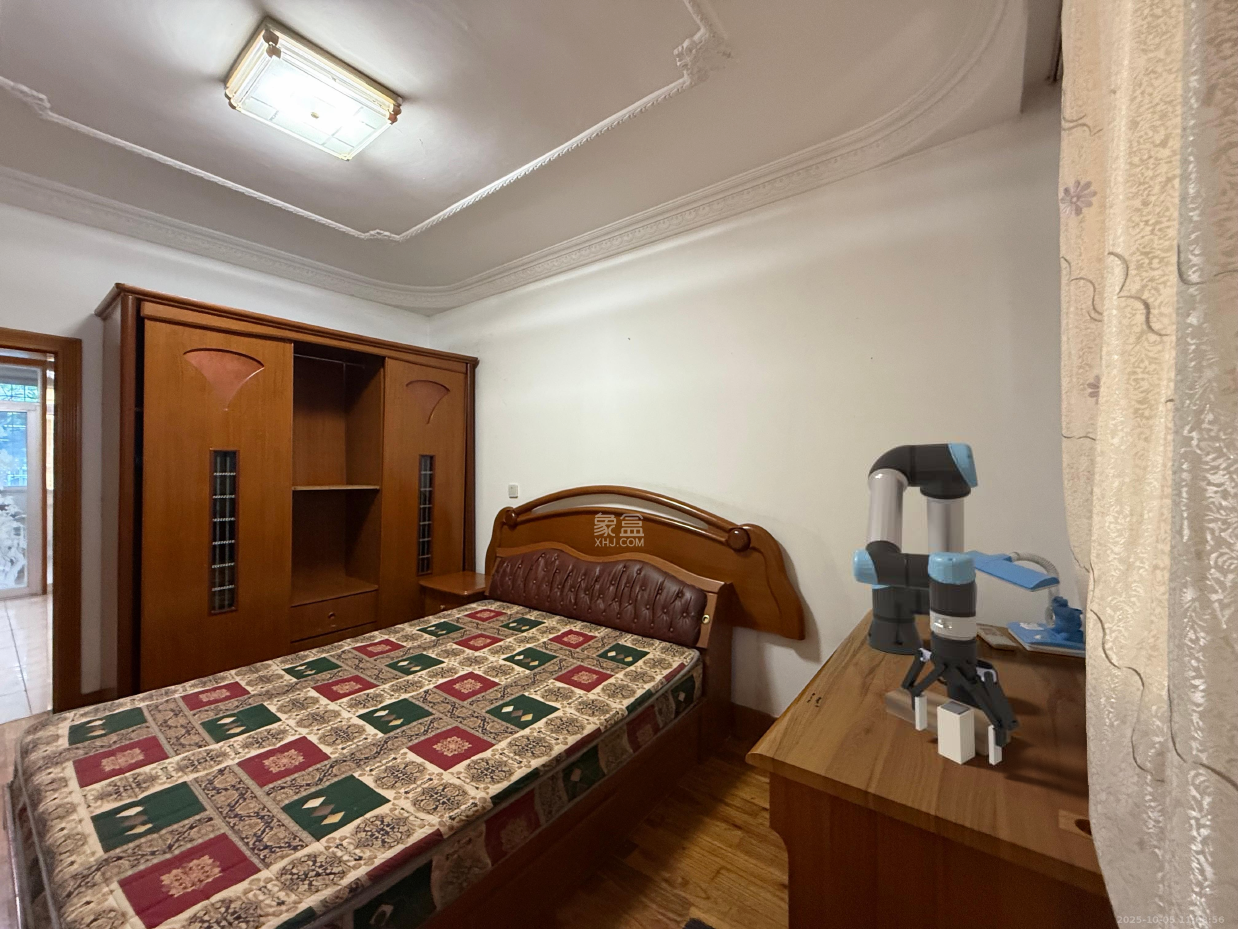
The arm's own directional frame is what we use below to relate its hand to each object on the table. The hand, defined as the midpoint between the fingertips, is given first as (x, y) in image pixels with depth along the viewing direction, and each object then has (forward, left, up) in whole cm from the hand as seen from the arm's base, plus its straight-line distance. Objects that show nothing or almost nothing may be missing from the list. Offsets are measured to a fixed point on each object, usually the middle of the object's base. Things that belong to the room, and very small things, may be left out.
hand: (956, 744), depth 95 cm
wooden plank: (-9, -7, -2) cm, 12 cm away
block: (0, 0, -2) cm, 2 cm away
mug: (-25, -11, -2) cm, 27 cm away
